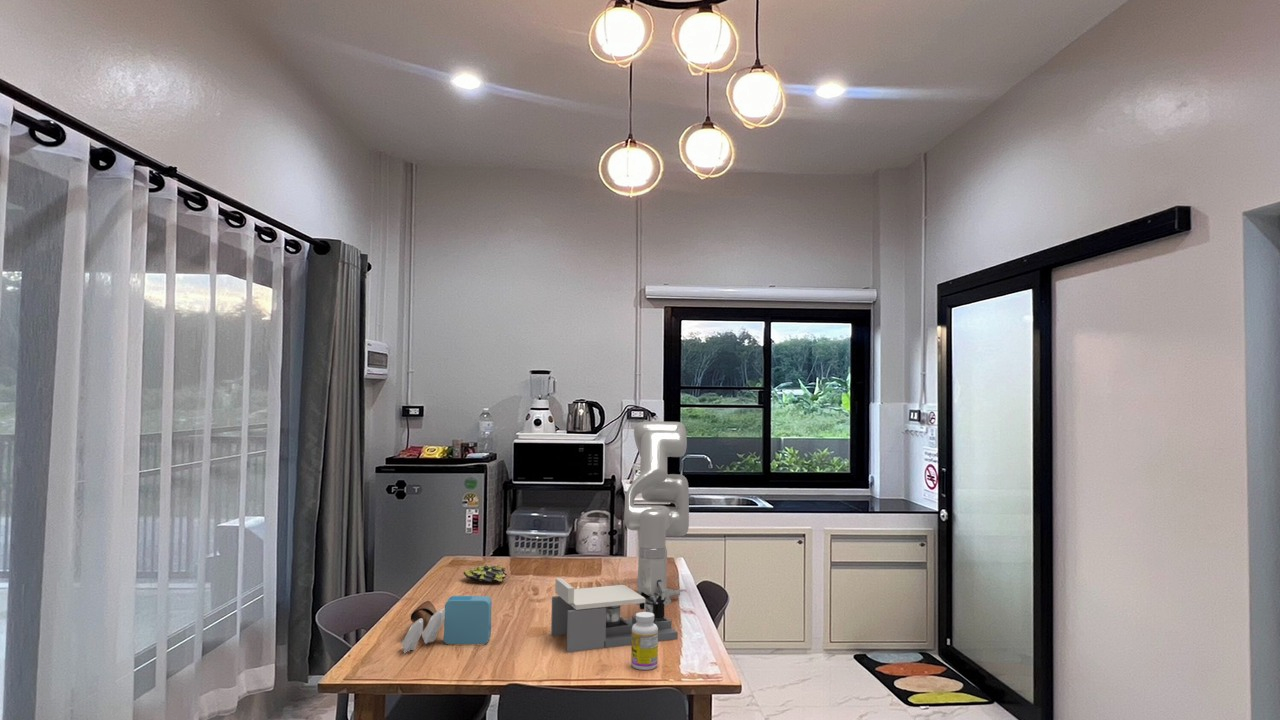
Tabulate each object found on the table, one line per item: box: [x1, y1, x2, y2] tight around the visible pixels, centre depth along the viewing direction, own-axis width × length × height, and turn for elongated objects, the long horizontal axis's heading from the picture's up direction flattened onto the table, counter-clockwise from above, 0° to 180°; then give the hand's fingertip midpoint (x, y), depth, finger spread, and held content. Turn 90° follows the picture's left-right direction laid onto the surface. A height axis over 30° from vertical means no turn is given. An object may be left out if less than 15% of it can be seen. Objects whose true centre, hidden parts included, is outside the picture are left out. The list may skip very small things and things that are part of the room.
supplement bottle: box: [630, 611, 659, 671], centre depth 187 cm, size 7×7×13 cm
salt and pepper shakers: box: [400, 608, 445, 654], centre depth 198 cm, size 12×4×11 cm
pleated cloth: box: [462, 563, 507, 583], centre depth 277 cm, size 20×16×7 cm
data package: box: [443, 595, 493, 646], centre depth 203 cm, size 12×4×12 cm, turn 93°
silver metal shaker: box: [643, 597, 660, 622], centre depth 214 cm, size 4×4×8 cm
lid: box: [554, 577, 645, 610], centre depth 208 cm, size 22×16×5 cm
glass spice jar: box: [606, 605, 622, 628], centre depth 209 cm, size 4×4×8 cm
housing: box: [550, 595, 679, 654], centre depth 210 cm, size 32×16×11 cm, turn 113°
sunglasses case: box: [410, 600, 438, 631], centre depth 211 cm, size 18×7×7 cm, turn 9°
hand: (651, 613), depth 214 cm, fingers open, 9 cm apart
